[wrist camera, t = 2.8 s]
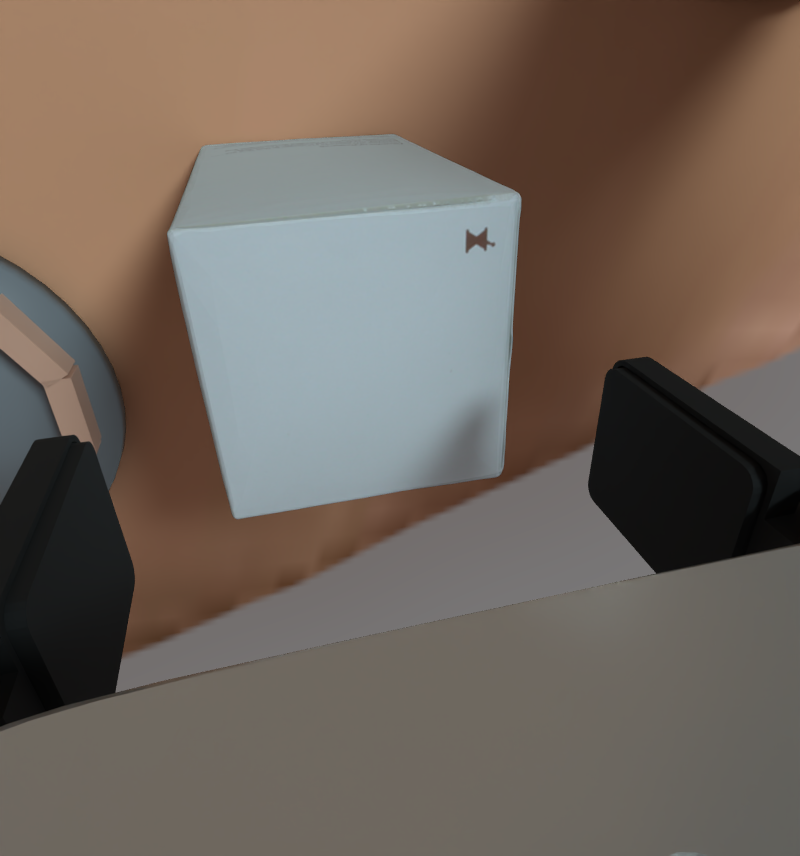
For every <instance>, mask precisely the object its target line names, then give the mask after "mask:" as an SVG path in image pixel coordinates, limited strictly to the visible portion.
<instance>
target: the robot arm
mask: <svg viewBox="0 0 800 856" xmlns="http://www.w3.org/2000/svg"><path fill="white" fill-rule="evenodd" d="M588 488H589V493H590V496H591V498H592V500H593V501H594V502H595V503H596V505H597V506H598V507H599V508H600V509H601V510H602V511H603V513H604V514H605V515H606V516H607V517H608V518H609V520H610V521H611V522H612V523H613V524H614V525H615V527H616V528H617V529H618V530H619V531H620V532H621V533H622V535H623V536H624V537H625V538H626V539H627V540H628V541H629V543H630V544H631V545H632V546H633V547H634V548H635V550H636V551H637V552H638V553H639V554H640V555H641V556H642V558H643V559H644V560H645V561H646V562H647V563H648V564H649V566H650V567H651V568H652V569H653V570H654V571H655V572H656V574H653V575H648V576H643V577H638V578H634V579H629V580H624V581H620V582H615V583H610V584H606V585H602V586H597V587H592V588H588V589H583V590H578V591H573V592H569V593H564V594H560V595H555V596H551V597H546V598H541V599H536V600H532V601H527V602H522V603H518V604H513V605H509V606H504V607H499V608H495V609H490V610H486V611H481V612H476V613H471V614H467V615H462V616H457V617H453V618H448V619H444V620H439V621H434V622H430V623H425V624H420V625H415V626H411V627H406V628H402V629H397V630H393V631H388V632H383V633H379V634H374V635H369V636H365V637H360V638H355V639H350V640H346V641H342V642H337V643H332V644H328V645H323V646H319V647H314V648H310V649H305V650H301V651H296V652H292V653H287V654H283V655H279V656H274V657H269V658H264V659H260V660H255V661H251V662H247V663H242V664H237V665H233V666H228V667H224V668H219V669H215V670H210V671H206V672H201V673H196V674H192V675H187V676H183V677H178V678H174V679H169V680H166V681H161V682H157V683H153V684H149V685H145V686H141V687H137V688H133V689H129V690H125V691H121V692H117V693H115V691H116V685H117V680H118V674H119V669H120V663H121V657H122V652H123V646H124V641H125V635H126V630H127V624H128V618H129V613H130V607H131V602H132V596H133V591H134V584H135V575H134V568H133V563H132V560H131V557H130V554H129V551H128V548H127V545H126V542H125V539H124V536H123V533H122V530H121V527H120V524H119V521H118V518H117V515H116V512H115V509H114V506H113V503H112V500H111V497H110V494H109V491H108V488H107V485H106V482H105V479H104V476H103V473H102V470H101V467H100V464H99V461H98V458H97V455H96V452H95V449H94V447H93V445H92V443H91V442H90V441H87V442H80V440H79V439H78V437H77V436H76V435H67V436H59V437H52V438H45V439H37V440H35V441H34V442H33V444H32V446H31V448H30V449H29V451H28V453H27V455H26V457H25V459H24V461H23V463H22V465H21V466H20V468H19V470H18V472H17V474H16V476H15V478H14V480H13V482H12V484H11V485H10V487H9V489H8V491H7V493H6V495H5V497H4V499H3V501H2V503H1V504H0V856H800V456H799V455H797V454H796V453H794V452H793V451H791V450H789V449H788V448H786V447H785V446H783V445H782V444H780V443H778V442H777V441H776V440H774V439H772V438H771V437H770V436H768V435H767V434H765V433H764V432H762V431H761V430H759V429H758V428H756V427H755V426H753V425H752V424H750V423H748V422H747V421H746V420H744V419H742V418H741V417H739V416H738V415H736V414H735V413H733V412H732V411H730V410H729V409H727V408H726V407H724V406H722V405H721V404H719V403H718V402H717V401H715V400H714V399H712V398H711V397H709V396H708V395H706V394H705V393H703V392H701V391H700V390H698V389H697V388H695V387H694V386H692V385H691V384H689V383H688V382H686V381H685V380H683V379H682V378H680V377H679V376H677V375H676V374H674V373H673V372H671V371H670V370H668V369H667V368H665V367H664V366H662V365H661V364H659V363H657V362H656V361H654V360H653V359H651V358H649V357H642V358H635V359H627V360H620V361H618V362H616V363H615V365H614V366H613V369H610V370H609V371H608V372H607V374H606V377H605V382H604V388H603V394H602V401H601V407H600V413H599V419H598V425H597V431H596V438H595V444H594V450H593V456H592V462H591V469H590V475H589V481H588Z"/></svg>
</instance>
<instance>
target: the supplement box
mask: <svg viewBox="0 0 800 856" xmlns="http://www.w3.org/2000/svg"><path fill="white" fill-rule="evenodd" d="M520 213H521V196H520V194H519V193H517V192H516V191H514V190H513V189H510V188H508V187H506V186H504V185H501V184H499V183H497V182H495V181H492V180H490V179H488V178H486V177H484V176H482V175H480V174H478V173H476V172H474V171H471V170H469V169H467V168H465V167H463V166H461V165H459V164H456V163H454V162H452V161H450V160H448V159H446V158H444V157H441V156H439V155H437V154H435V153H433V152H431V151H429V150H427V149H425V148H422V147H420V146H418V145H416V144H414V143H412V142H410V141H408V140H406V139H404V138H402V137H400V136H397V135H395V134H385V135H367V136H349V137H328V138H307V139H292V140H277V141H261V142H243V143H228V144H215V145H205V146H203V147H202V148H201V149H200V152H199V154H198V157H197V159H196V162H195V165H194V167H193V170H192V172H191V175H190V178H189V180H188V184H187V186H186V188H185V191H184V194H183V196H182V199H181V202H180V204H179V207H178V209H177V212H176V214H175V217H174V219H173V222H172V224H171V227H170V229H169V230H168V232H167V237H168V243H169V249H170V255H171V260H172V264H173V269H174V274H175V279H176V284H177V288H178V292H179V297H180V301H181V306H182V310H183V314H184V319H185V323H186V327H187V332H188V336H189V340H190V345H191V349H192V354H193V358H194V362H195V367H196V371H197V375H198V379H199V383H200V387H201V391H202V396H203V400H204V404H205V408H206V412H207V416H208V420H209V424H210V428H211V432H212V436H213V440H214V445H215V449H216V453H217V457H218V462H219V466H220V470H221V474H222V478H223V482H224V486H225V489H226V493H227V497H228V501H229V504H230V508H231V512H232V515H233V517H234V518H236V519H242V518H247V517H254V516H260V515H266V514H272V513H278V512H284V511H290V510H296V509H302V508H308V507H313V506H319V505H325V504H331V503H337V502H343V501H349V500H355V499H360V498H366V497H372V496H378V495H383V494H388V493H394V492H399V491H405V490H412V489H419V488H426V487H433V486H440V485H447V484H454V483H460V482H467V481H473V480H479V479H487V478H494V477H498V476H500V474H501V472H502V470H503V467H504V454H505V440H506V420H507V406H508V389H509V374H510V363H511V354H512V343H513V312H514V295H515V280H516V264H517V250H518V234H519V220H520Z"/></svg>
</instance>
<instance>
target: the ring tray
mask: <svg viewBox="0 0 800 856" xmlns="http://www.w3.org/2000/svg"><path fill="white" fill-rule="evenodd" d="M125 433H126V419H125V406H124V402H123V397H122V392H121V388H120V385H119V383H118V380H117V377H116V375H115V372H114V369H113V367H112V365H111V363H110V361H109V359H108V357H107V356H106V354H105V352H104V350H103V348H102V346H101V345H100V343H99V342H98V341H97V339H96V338H95V336H94V335H93V334H92V332H91V331H90V330H89V328H88V327H87V325H86V324H85V323H84V322H83V321H82V320H81V319H80V318H79V316H78V315H77V314H76V313H75V312H74V311H73V310H72V309H71V308H70V307H69V306H68V304H66V303H65V302H64V301H63V300H62V299H61V298H60V297H58V296H57V295H56V294H55V293H54V292H53V291H52V290H50V289H49V288H48V287H47V286H46V285H45V284H43V283H42V282H40V281H39V280H38V279H36V278H35V277H33V276H32V275H30V274H29V273H28V272H26V271H25V270H23V269H22V268H20V267H19V266H17V265H15V264H14V263H12V262H10V261H8V260H7V259H5V258H3V257H1V256H0V504H1V503H2V501H3V499H4V497H5V495H6V493H7V491H8V489H9V487H10V485H11V484H12V482H13V480H14V478H15V476H16V474H17V472H18V470H19V468H20V466H21V465H22V463H23V461H24V459H25V457H26V455H27V453H28V451H29V449H30V448H31V446H32V444H33V442H34V441H35V440H37V439H45V438H52V437H59V436H67V435H76V436H77V437H78V439H79V440H80V442H87V441H90V442H91V443H92V445H93V447H94V449H95V452H96V455H97V458H98V461H99V464H100V467H101V470H102V473H103V476H104V479H105V482H106V485H107V488H108V491H109V489H110V487H111V485H112V483H113V481H114V479H115V476H116V472H117V469H118V466H119V462H120V459H121V455H122V452H123V448H124V441H125Z"/></svg>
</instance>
